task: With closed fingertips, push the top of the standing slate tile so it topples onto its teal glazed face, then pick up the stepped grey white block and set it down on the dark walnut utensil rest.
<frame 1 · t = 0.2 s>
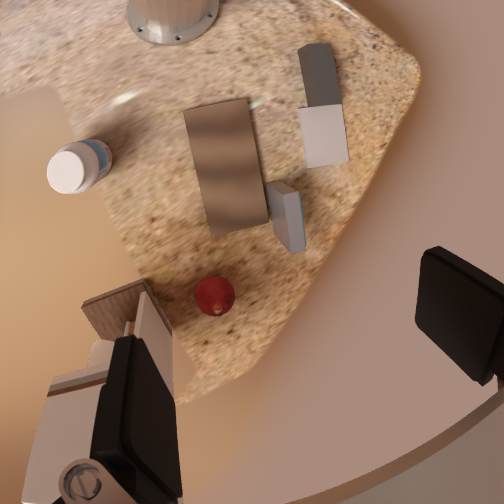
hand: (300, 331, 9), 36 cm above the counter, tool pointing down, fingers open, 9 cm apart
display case: (128, 315, 48), on the counter
tile: (276, 207, 46), on the counter
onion: (212, 283, 49), on the counter
stepped grey white block: (313, 77, 39), on the counter
pill bottle: (93, 160, 37), on the counter
rest: (226, 167, 42), on the counter
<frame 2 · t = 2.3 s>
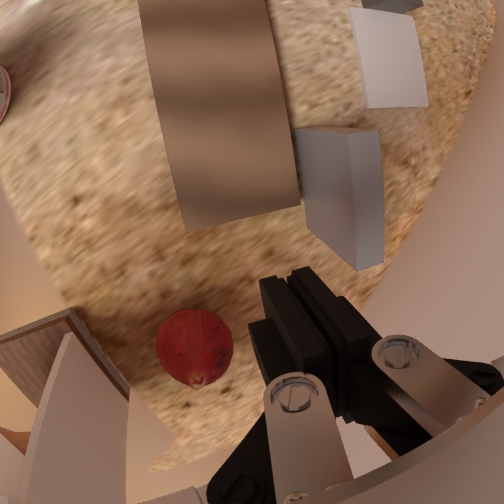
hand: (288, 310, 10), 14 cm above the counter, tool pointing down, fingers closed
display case: (58, 363, 25), on the counter
tile: (313, 177, 23), on the counter
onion: (191, 317, 26), on the counter
rest: (218, 94, 19), on the counter
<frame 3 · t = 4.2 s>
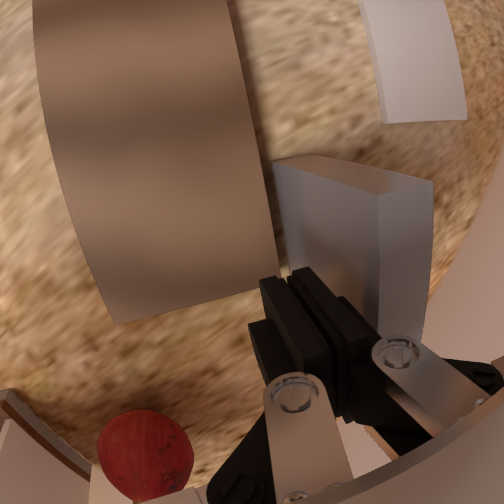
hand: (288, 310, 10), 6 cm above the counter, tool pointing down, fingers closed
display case: (14, 435, 17), on the counter
tile: (302, 235, 16), on the counter, touching gripper
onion: (146, 409, 18), on the counter
rest: (145, 113, 12), on the counter
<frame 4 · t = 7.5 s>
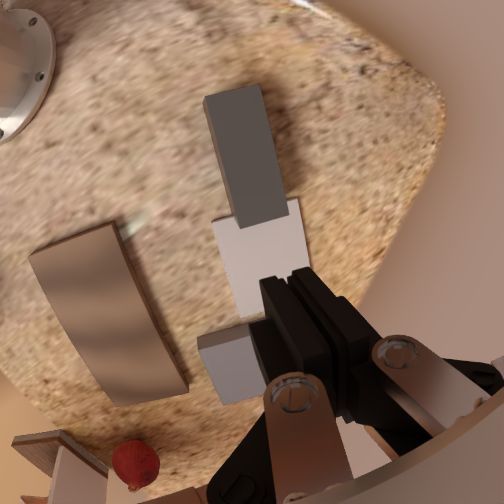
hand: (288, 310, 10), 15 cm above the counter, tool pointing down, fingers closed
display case: (60, 453, 31), on the counter
tile: (210, 373, 28), point 1 cm above the counter, tilted 90°
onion: (137, 439, 32), on the counter
stepped grey white block: (239, 153, 23), on the counter
rest: (112, 327, 26), on the counter
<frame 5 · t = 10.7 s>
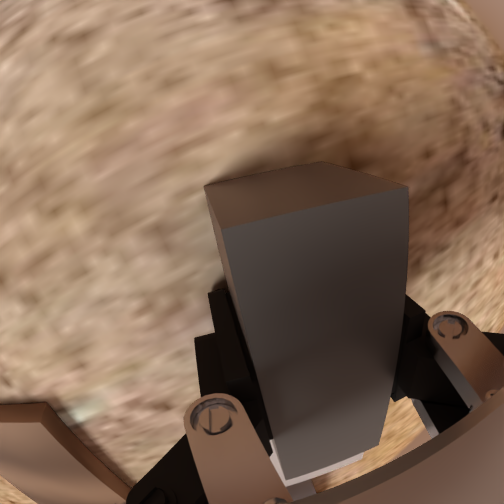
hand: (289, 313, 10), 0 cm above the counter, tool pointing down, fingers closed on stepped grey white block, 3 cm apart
stepped grey white block: (286, 305, 10), on the counter, touching gripper
rest: (79, 491, 13), on the counter
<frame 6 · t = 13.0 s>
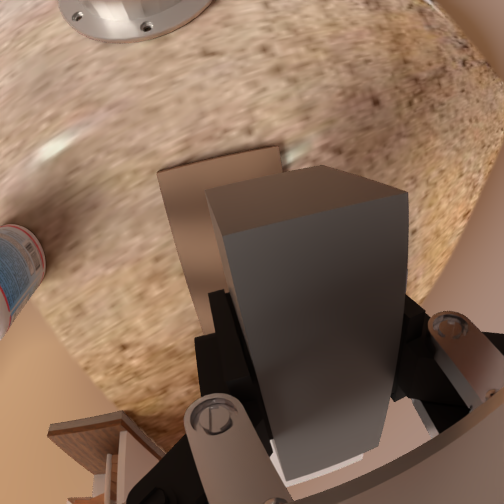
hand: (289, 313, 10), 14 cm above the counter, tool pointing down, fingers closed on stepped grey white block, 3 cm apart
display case: (108, 441, 30), on the counter
stepped grey white block: (287, 308, 10), point 14 cm above the counter, touching gripper
pill bottle: (19, 256, 20), on the counter
rest: (240, 269, 25), on the counter
when the fingers open (2 cm above the counter, at t = 15.3 s): stepped grey white block stays where it is, resting on rest.
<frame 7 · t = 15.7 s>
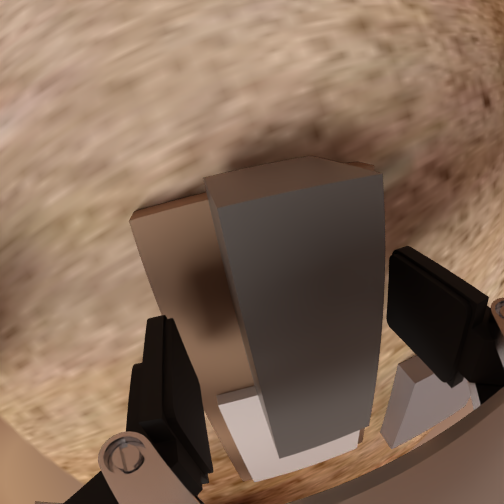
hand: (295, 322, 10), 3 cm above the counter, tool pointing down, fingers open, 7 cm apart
tile: (395, 412, 17), point 1 cm above the counter, tilted 90°
stepped grey white block: (279, 290, 11), point 1 cm above the counter, touching rest
rest: (285, 367, 14), on the counter
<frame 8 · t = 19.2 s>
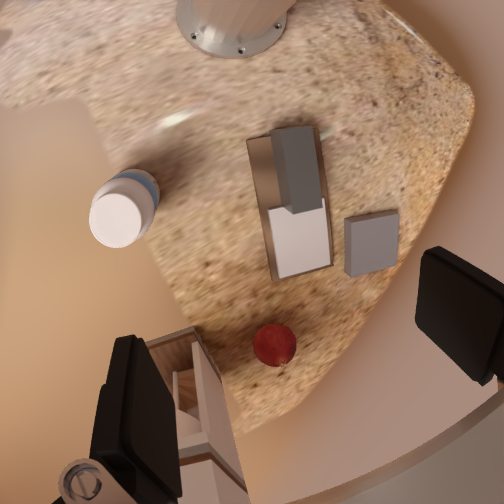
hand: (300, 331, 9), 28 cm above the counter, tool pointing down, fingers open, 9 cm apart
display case: (172, 363, 43), on the counter
tile: (347, 248, 41), point 1 cm above the counter, tilted 90°
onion: (267, 328, 44), on the counter
stepped grey white block: (290, 165, 35), point 1 cm above the counter, touching rest
pill bottle: (134, 193, 34), on the counter
rest: (292, 206, 38), on the counter
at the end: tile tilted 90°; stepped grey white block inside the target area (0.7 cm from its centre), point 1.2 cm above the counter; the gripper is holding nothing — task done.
